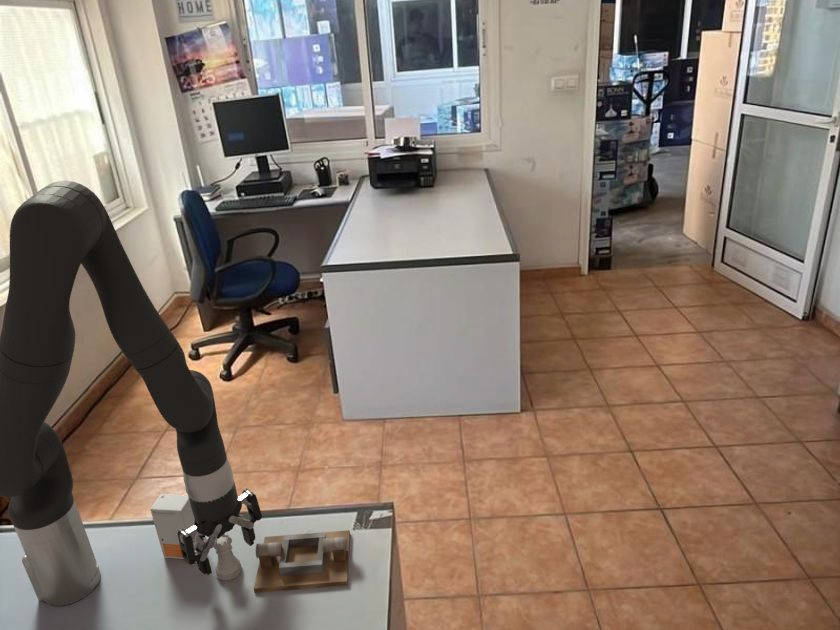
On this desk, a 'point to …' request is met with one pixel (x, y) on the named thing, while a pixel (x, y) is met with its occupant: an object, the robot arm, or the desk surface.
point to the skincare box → (172, 522)
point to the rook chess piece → (226, 559)
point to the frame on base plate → (303, 561)
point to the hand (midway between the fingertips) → (229, 557)
